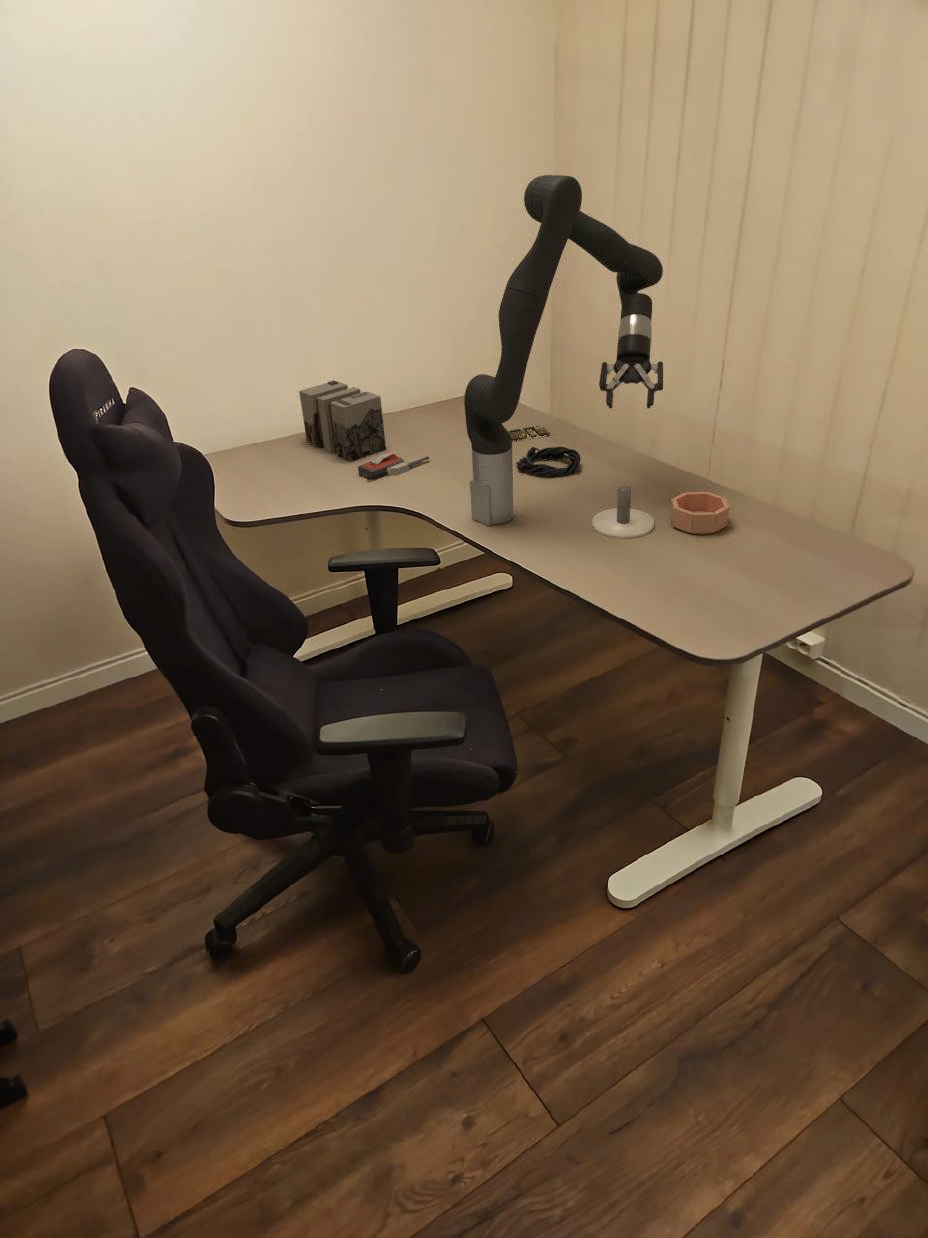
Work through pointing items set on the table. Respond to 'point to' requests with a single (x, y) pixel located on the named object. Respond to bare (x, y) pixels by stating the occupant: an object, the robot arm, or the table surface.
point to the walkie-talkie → (386, 466)
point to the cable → (550, 454)
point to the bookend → (343, 420)
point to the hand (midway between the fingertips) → (629, 407)
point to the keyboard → (521, 435)
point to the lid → (623, 519)
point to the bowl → (699, 512)
